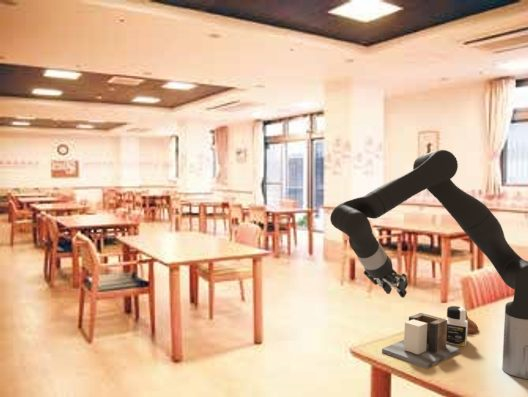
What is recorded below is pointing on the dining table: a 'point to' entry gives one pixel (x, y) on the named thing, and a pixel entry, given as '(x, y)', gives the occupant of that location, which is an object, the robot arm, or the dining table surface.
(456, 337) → the medicine bottle
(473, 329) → the bell
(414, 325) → the peg
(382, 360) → the dining table surface
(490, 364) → the dining table surface
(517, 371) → the robot arm
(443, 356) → the u-shaped block stand
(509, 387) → the dining table surface
